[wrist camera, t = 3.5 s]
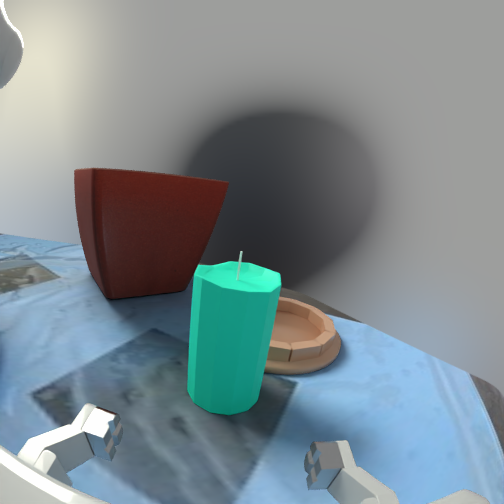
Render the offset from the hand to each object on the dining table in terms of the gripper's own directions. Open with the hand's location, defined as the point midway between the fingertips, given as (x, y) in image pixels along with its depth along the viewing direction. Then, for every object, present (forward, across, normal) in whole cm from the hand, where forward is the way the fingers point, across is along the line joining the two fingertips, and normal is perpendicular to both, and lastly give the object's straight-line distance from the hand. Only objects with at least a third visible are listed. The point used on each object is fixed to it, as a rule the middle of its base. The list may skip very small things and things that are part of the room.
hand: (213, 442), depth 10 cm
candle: (+11, 0, +7) cm, 13 cm away
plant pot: (+32, +16, +7) cm, 37 cm away
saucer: (+22, -5, +6) cm, 24 cm away
